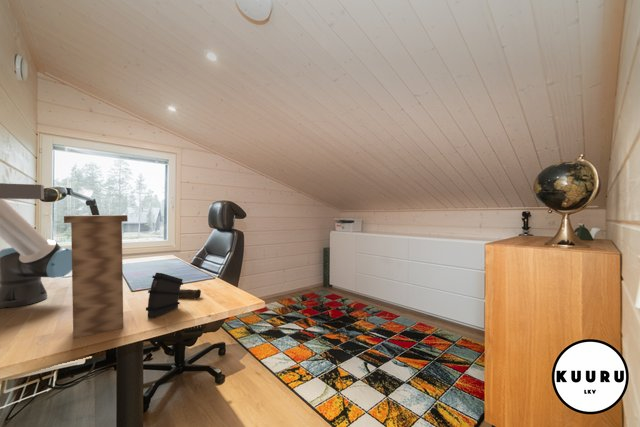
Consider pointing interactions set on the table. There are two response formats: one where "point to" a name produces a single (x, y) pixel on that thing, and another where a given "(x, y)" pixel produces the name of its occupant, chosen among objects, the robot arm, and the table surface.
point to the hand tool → (190, 293)
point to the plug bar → (21, 191)
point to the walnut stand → (96, 273)
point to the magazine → (163, 295)
